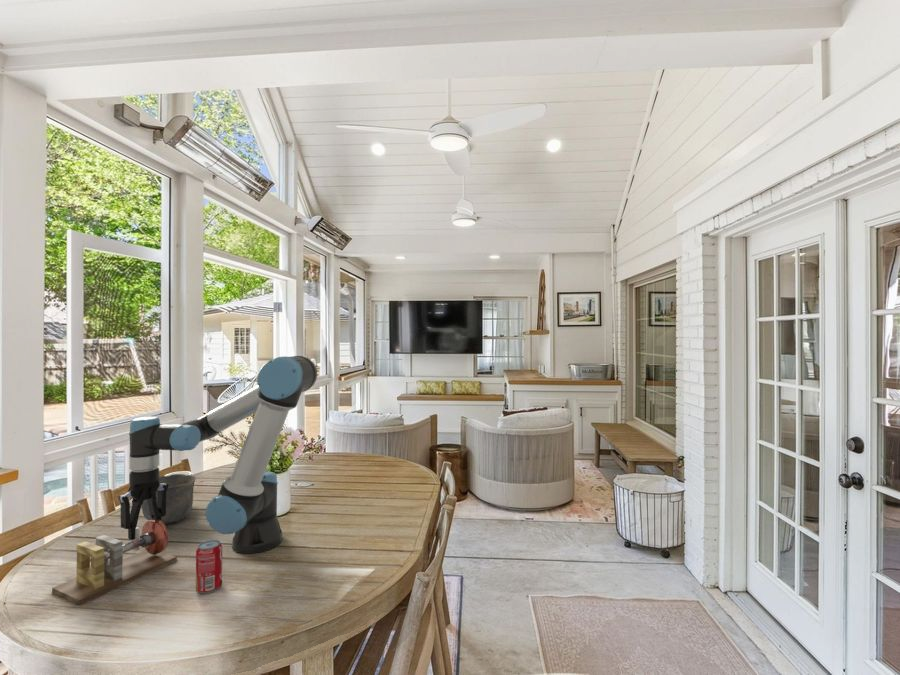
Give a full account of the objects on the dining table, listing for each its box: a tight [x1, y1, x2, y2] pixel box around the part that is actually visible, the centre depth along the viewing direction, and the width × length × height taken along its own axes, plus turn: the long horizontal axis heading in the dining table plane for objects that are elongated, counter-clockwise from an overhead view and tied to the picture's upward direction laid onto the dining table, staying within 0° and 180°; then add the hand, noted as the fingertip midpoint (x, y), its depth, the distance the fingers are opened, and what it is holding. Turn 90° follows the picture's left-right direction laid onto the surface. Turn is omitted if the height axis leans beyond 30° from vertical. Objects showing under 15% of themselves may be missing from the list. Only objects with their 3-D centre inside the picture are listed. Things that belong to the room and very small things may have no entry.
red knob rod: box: [90, 519, 169, 563], centre depth 128 cm, size 10×17×10 cm, turn 155°
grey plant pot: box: [141, 474, 196, 525], centre depth 164 cm, size 18×18×15 cm
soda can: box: [195, 539, 223, 595], centre depth 120 cm, size 6×6×12 cm
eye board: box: [51, 534, 178, 606], centre depth 126 cm, size 13×25×11 cm, turn 155°
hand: (143, 545), depth 136 cm, fingers closed on red knob rod, 4 cm apart
